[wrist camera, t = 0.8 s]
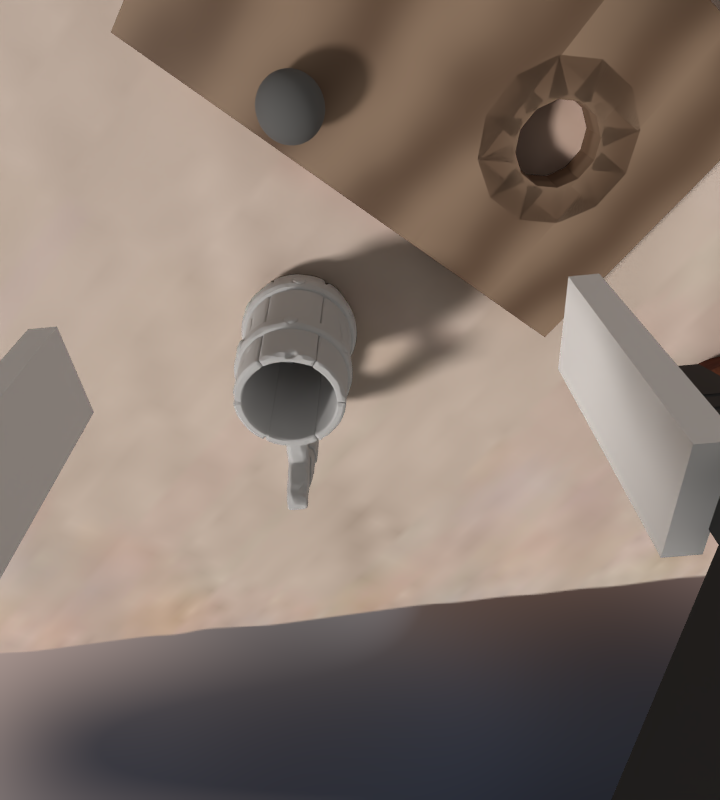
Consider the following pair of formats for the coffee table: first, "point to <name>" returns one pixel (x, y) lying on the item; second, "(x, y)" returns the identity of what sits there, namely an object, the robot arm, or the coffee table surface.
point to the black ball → (290, 106)
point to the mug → (295, 370)
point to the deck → (473, 117)
